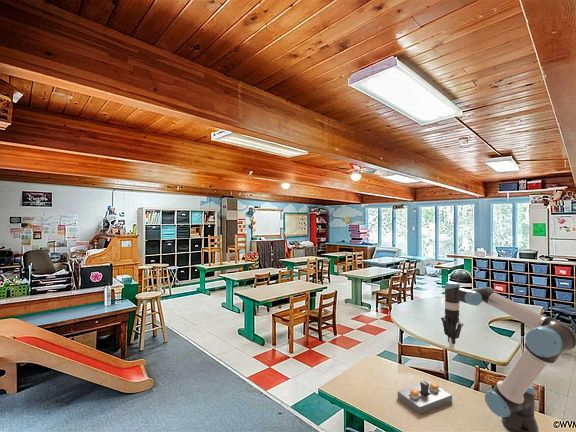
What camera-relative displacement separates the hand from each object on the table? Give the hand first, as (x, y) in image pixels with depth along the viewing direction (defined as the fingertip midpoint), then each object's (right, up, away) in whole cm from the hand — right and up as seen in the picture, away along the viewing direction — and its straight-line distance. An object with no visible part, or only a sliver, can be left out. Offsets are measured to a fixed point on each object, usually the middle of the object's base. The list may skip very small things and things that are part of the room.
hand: (451, 348), depth 178 cm
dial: (-16, -27, 0) cm, 31 cm away
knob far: (-9, -30, +3) cm, 31 cm away
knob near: (-23, -30, -3) cm, 38 cm away
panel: (-16, -30, 0) cm, 34 cm away
